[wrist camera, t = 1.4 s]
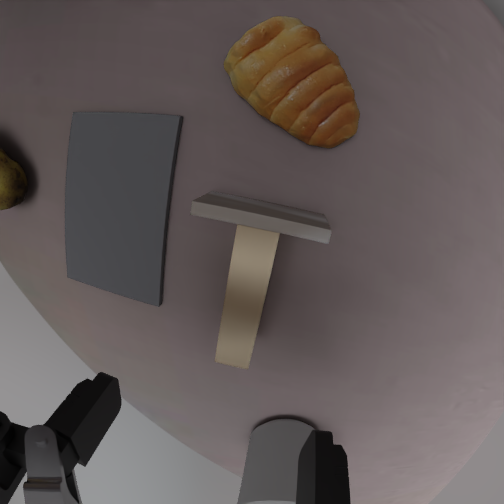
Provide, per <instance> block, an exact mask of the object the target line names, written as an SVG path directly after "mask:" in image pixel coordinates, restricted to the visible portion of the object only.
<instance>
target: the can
mask: <svg viewBox="0 0 504 504" xmlns="http://www.w3.org/2000/svg"><path fill="white" fill-rule="evenodd" d="M312 430H315V429H314V428H313V427H311V426H310V425H307V424H305V423H304V422H301V421H298V420H293V419H277V420H272V421H269V422H267V423H265V424H262V425H260V426H258V427H257V428H256V429H255V430H253V431H252V434H251V436H250V441H249V446H248V452H247V457H246V462H245V468H244V473H243V478H242V483H241V488H240V493H239V498H238V503H237V504H296V491H297V474H298V459H299V454H300V451H301V449H302V447H303V445H304V443H305V442H306V440H307V438H308V437H309V435H310V433H311V431H312Z"/></svg>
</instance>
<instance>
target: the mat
mask: <svg viewBox="0 0 504 504" xmlns="http://www.w3.org/2000/svg"><path fill="white" fill-rule="evenodd" d="M182 119H183V117H182V116H175V115H163V114H147V113H125V112H73V116H72V123H71V131H70V139H69V148H68V158H67V171H66V190H65V245H66V264H67V277H68V278H71V279H74V280H76V281H79V282H82V283H85V284H88V285H91V286H94V287H97V288H100V289H103V290H106V291H109V292H112V293H115V294H118V295H121V296H124V297H128V298H131V299H134V300H137V301H141V302H144V303H147V304H151V305H154V306H158V307H159V306H160V305H161V304H162V290H163V273H164V260H165V247H166V236H167V226H168V216H169V207H170V199H171V191H172V183H173V176H174V168H175V162H176V155H177V148H178V142H179V136H180V130H181V125H182Z"/></svg>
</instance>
